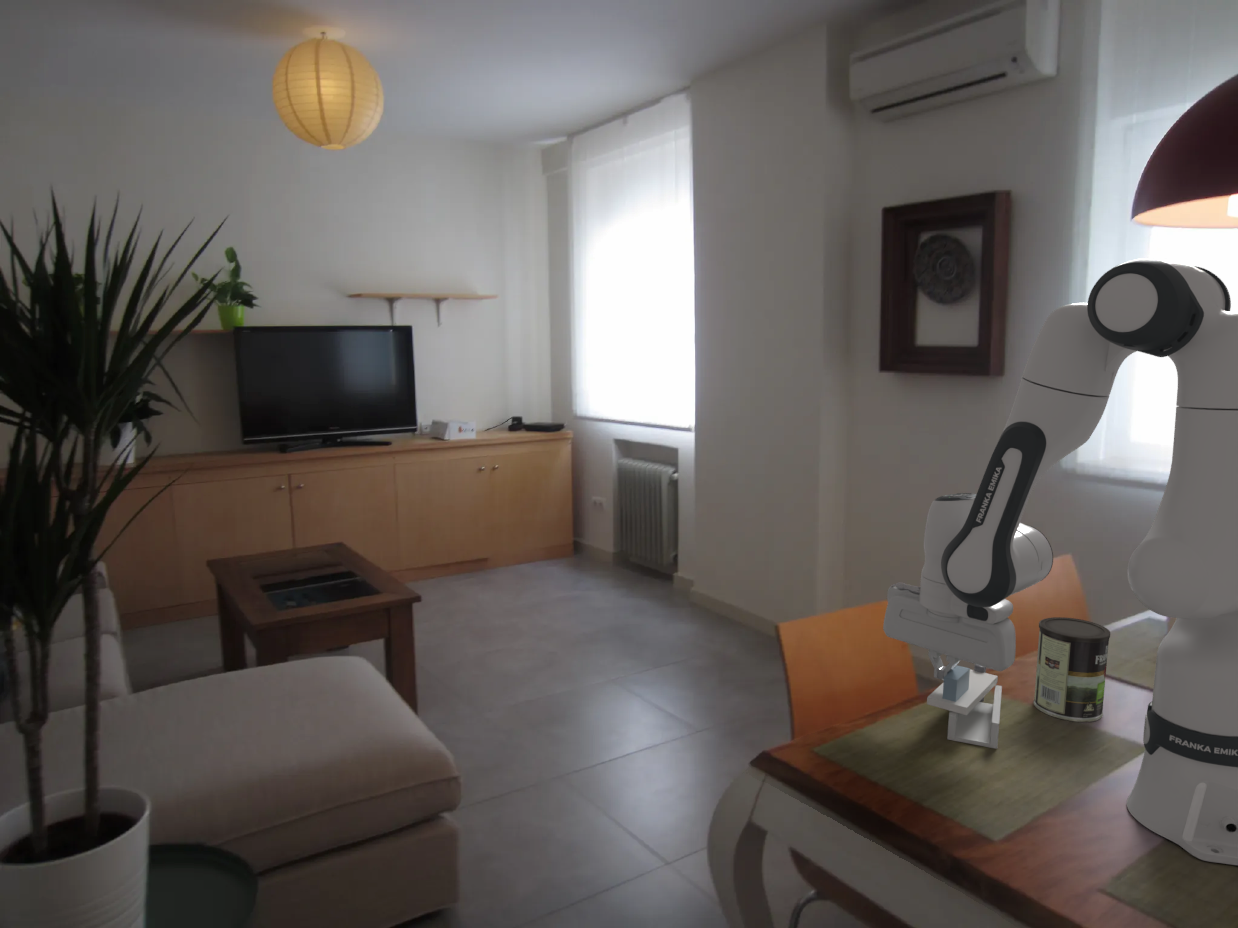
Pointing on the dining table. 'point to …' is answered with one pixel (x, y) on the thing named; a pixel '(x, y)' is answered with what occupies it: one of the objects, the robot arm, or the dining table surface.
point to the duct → (977, 723)
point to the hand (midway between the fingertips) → (942, 678)
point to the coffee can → (1071, 669)
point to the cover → (962, 689)
